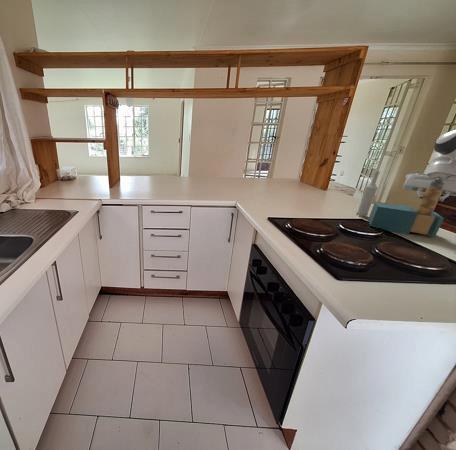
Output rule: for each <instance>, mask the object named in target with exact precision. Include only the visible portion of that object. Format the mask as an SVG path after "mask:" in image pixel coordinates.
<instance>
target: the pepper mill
mask: <svg viewBox="0 0 456 450" xmlns="http://www.w3.org/2000/svg"><path fill="white" fill-rule="evenodd" d="M443 185H444V183H443V180H442V179H441V178H437V179H435V181H432V182H431V184H430V186H429V188H427V189H426V192H424V193H423V194H424V197H423V199H421V200H420V203H419V206H418V207H417V209H416V210H417V212H418V214H420V215H427V216H431V215H432V213H433V212H435V209H436V206H437V205H438V202H439V201H438V200H439V198H440V196H442V194H441V193H442V191H443V190H442V187H443Z"/></svg>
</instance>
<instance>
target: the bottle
mask: <svg viewBox="0 0 456 450" xmlns="http://www.w3.org/2000/svg"><path fill="white" fill-rule="evenodd" d="M380 173H381V171H380V170H375V171H374V173H373V176H372V179H371V181H370V183H369V184H367V185H365V187H364V190H363V192H362V196H361V199H360V203H359V206H358V208H357V210H356V212H355V215H356V216H358V215H359V216H358V217H362V216H367V217H368V215H369V211H370V208H371V206H372V203H373V201H374V199H375V196H376V194H377V191H378V189H379V187H378V186H377V184H376V183H377V181H378V178H379V175H380Z"/></svg>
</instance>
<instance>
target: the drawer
mask: <svg viewBox="0 0 456 450" xmlns="http://www.w3.org/2000/svg"><path fill="white" fill-rule="evenodd" d="M415 210H416V211H417V210H418V209H415ZM444 219H445V218H444V217H443V216H442V215H440V214H439V213H437V212H435V211H433V213H432V215H431V216H427V215H420V214H418V215H417V217H416V219H415V221H414V223H413V226H412V228H411V230H410V232H409V233H416V234H421V235H429V236H430V237H432V238H435V237H436V236H437V234H438V232H439V230H440V228H441V226H442V224H443V222H444Z"/></svg>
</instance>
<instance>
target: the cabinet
mask: <svg viewBox="0 0 456 450" xmlns="http://www.w3.org/2000/svg"><path fill="white" fill-rule="evenodd" d="M416 210H417V209H415V208H414V207H413V206H409V205H403V204H395V203H388V202H383V201H374V203H373V206H372V207H371V210H370V214H369V216H368V219H367V222H369V223H368V225H369V224H370V225H369V227H370V226H372V227H377V228H381V229H380V230H382V229H383V231H387V232H392V233H393V232H394V233H397V234H398V233H399V234H404V235H409V234H410V233H411V232H410V230H411V228H412V226H413V223H414V221H415V219H416V217H417V215H418V212H417V211H416ZM377 228H376V229H377Z"/></svg>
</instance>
